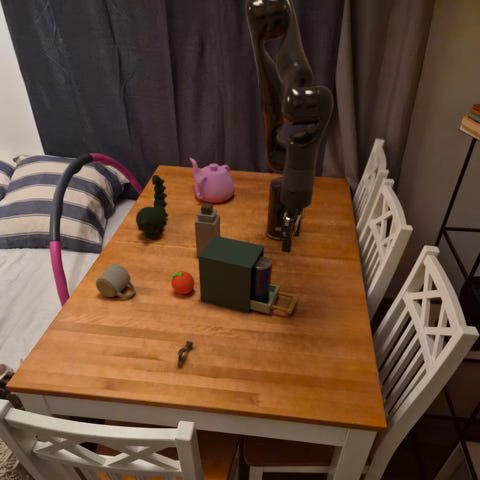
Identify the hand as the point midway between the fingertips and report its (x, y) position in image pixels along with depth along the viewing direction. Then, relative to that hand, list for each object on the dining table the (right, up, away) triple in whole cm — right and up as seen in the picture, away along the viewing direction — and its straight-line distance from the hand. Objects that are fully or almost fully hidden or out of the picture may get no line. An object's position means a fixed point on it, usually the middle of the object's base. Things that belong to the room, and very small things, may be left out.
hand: (290, 243), depth 105 cm
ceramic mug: (-50, -11, +19) cm, 55 cm away
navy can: (-8, -13, +16) cm, 22 cm away
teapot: (-26, +35, +71) cm, 83 cm away
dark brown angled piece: (-27, -29, 0) cm, 40 cm away
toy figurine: (-45, +15, +48) cm, 68 cm away
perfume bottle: (-24, +3, +36) cm, 44 cm away
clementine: (-31, -11, +20) cm, 39 cm away
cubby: (-16, -12, +19) cm, 28 cm away
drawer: (-7, -14, +16) cm, 22 cm away
